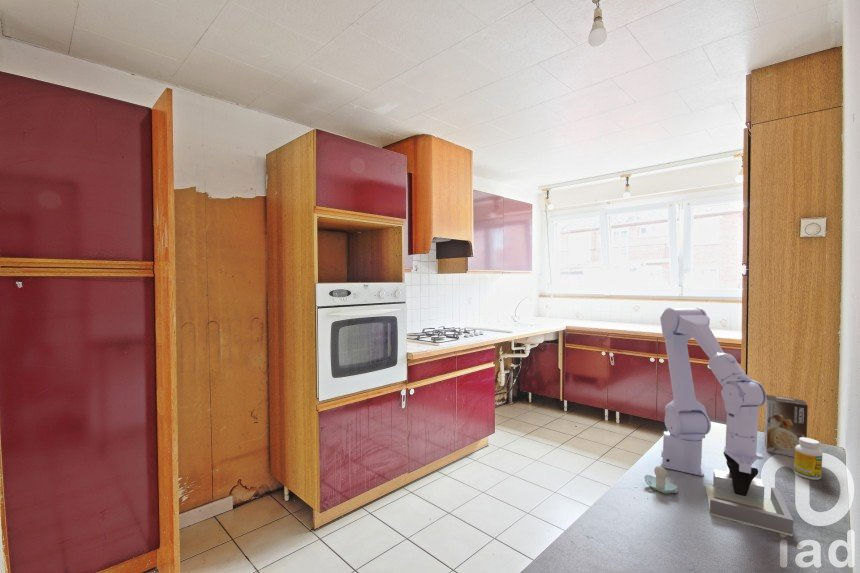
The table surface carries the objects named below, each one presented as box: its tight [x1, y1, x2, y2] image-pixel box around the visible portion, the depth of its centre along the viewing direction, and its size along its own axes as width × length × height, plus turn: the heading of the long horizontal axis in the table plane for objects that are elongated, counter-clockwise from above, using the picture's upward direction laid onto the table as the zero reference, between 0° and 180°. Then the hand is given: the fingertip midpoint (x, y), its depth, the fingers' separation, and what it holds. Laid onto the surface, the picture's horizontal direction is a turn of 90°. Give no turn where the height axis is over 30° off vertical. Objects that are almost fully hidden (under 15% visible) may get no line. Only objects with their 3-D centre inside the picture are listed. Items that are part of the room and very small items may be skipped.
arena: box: [704, 484, 794, 537], centre depth 93 cm, size 14×14×3 cm
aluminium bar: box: [712, 468, 765, 509], centre depth 95 cm, size 9×4×5 cm, turn 59°
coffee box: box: [763, 394, 809, 458], centre depth 122 cm, size 9×6×16 cm
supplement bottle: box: [793, 437, 823, 481], centre depth 108 cm, size 5×5×10 cm
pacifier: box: [643, 465, 679, 495], centre depth 101 cm, size 7×6×6 cm
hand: (738, 489), depth 95 cm, fingers closed on aluminium bar, 4 cm apart
